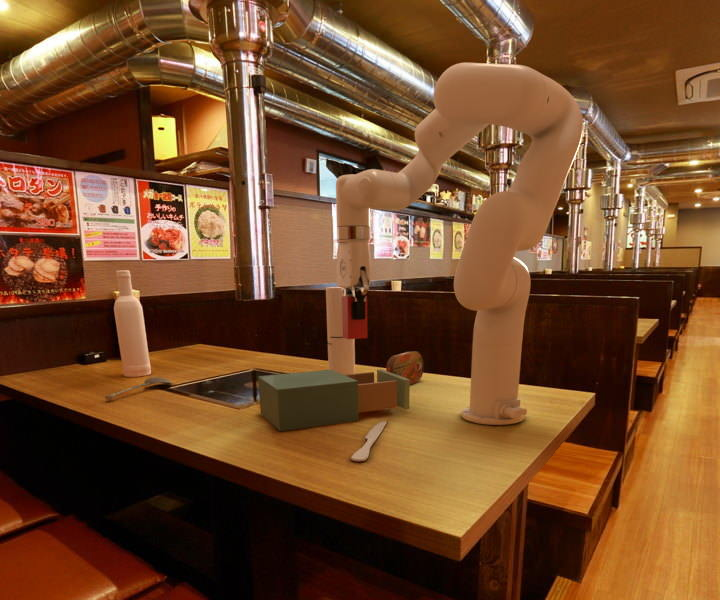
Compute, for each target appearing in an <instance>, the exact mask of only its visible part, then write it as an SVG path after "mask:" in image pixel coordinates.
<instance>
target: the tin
mask: <svg viewBox="0 0 720 600" xmlns="http://www.w3.org/2000/svg"><path fill="white" fill-rule="evenodd" d="M385 367H386V368H385V371H387V372H390V373H393V374H396V375H399V376H401V377H404V378H407V379H410V386H411V385H414V384H416V383H418V382H419V381H420V380H421V379H422V377H423V374H424V367H425V364H424V359H423V356H422V354H421V353H420V352H419V351H415V350H414V351H406V352H403V353H399V354H395V355H392V356H391V357H389V359H388V360H387V363H386V366H385Z"/></svg>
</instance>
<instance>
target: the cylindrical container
mask: <svg viewBox="0 0 720 600" xmlns="http://www.w3.org/2000/svg"><path fill="white" fill-rule="evenodd" d="M351 291H352V290H351ZM342 296H344V293H343V290H342V288H341V287H339V286H327V287H325V303H326V305H325V306H326V332H327V334H326V335H327V363H328V370H334V371H336V372H338V373H341V374H343V375H347V374H356V348H355V343H356V342H355V339H346V338H343V331H342Z"/></svg>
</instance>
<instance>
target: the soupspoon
mask: <svg viewBox="0 0 720 600" xmlns="http://www.w3.org/2000/svg"><path fill="white" fill-rule="evenodd" d="M157 384H162V385H172V384H173V382H171V380H169V379H167V378H164V377H160V376H153V377H150V378H149V377H148V378H147V379H145V380H144V383H142V384H141V383H140V384H138V385H137V384H136V385H134V386H132V387H128V388H126V389H125V388H124V389H122V390H121V391H118V392H114V393H111V394H106V395H105V396H104V398H105V400H106V401H107V402H111V401H112V400H113V399H114V398H115V397H118V396H119V395H120V394H124V393H126V392H129V391H132V390H135V389H138V388H142V387H146V386H151V385H157Z"/></svg>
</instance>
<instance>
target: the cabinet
mask: <svg viewBox="0 0 720 600" xmlns="http://www.w3.org/2000/svg"><path fill="white" fill-rule="evenodd" d="M257 379H258V381H257V382H258V395H259V407H260V408H259V409H260V415H261V416H262V417H263V418H265V419H266V421H268V422H269V423H270V424H271V425H272V426H274V428H276V429H277V430H278V432H285V431H292V430H300V429H301V430H302V429H307V428H314V427H322V426H323V427H324V426H330V425H336V424H344V423H345V424H346V423H352V422H359V420H360V417H359V415H360V414H359V413H358V381H357V380H354V379H352V378H350V377H347V376H345V375H343V374H341V373H338V372H336V371H334V370H329V369H322V370H311V371H300V372H291V373H282V374H281V373H280V374H269V375H259V376H257Z"/></svg>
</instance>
